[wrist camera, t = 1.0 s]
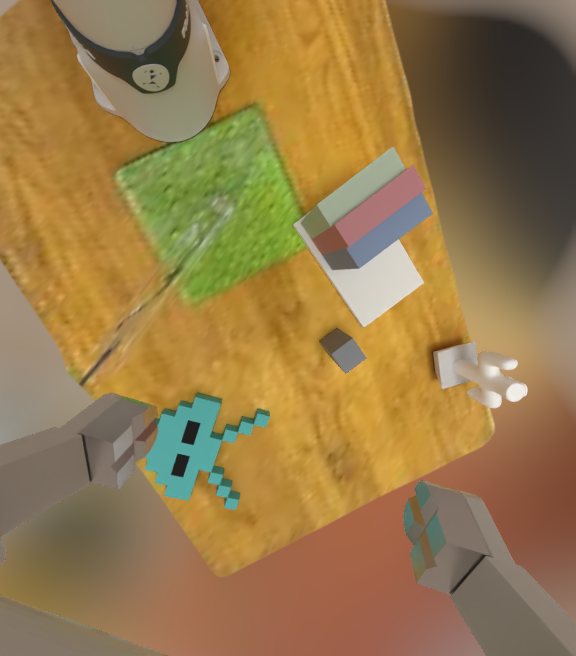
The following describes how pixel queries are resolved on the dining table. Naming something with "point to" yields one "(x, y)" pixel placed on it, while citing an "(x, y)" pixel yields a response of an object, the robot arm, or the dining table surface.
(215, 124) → the dining table surface
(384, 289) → the shelf board
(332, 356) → the bookend block
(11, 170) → the dining table surface
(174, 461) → the alien figure
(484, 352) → the figurine
